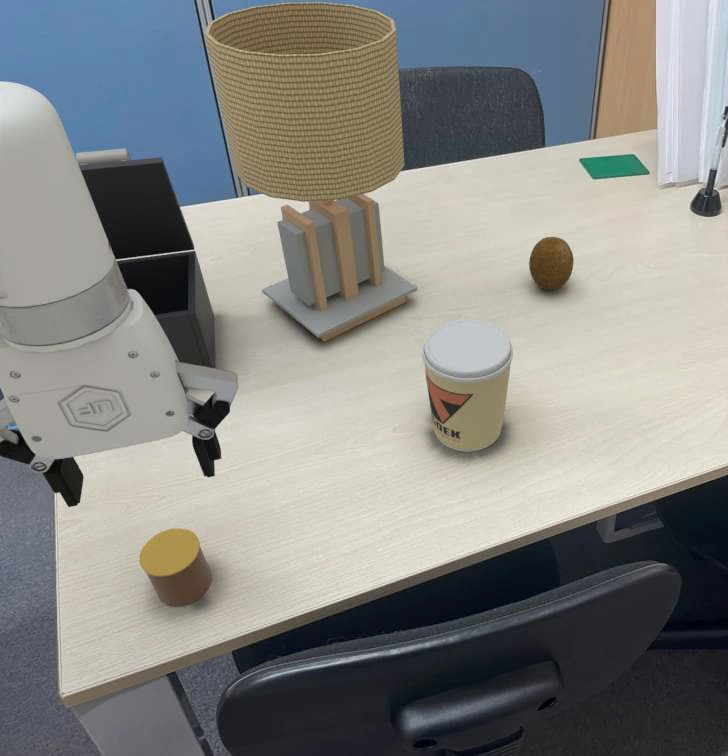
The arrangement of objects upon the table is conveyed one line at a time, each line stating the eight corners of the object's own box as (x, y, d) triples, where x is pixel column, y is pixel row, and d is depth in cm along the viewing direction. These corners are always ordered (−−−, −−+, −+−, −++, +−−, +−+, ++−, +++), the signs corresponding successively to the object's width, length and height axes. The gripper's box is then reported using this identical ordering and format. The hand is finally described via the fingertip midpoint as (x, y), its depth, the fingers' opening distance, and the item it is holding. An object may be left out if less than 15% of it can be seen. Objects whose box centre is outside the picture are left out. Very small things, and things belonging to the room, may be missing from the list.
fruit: (536, 271, 105) (540, 223, 100) (576, 281, 103) (582, 233, 98) (521, 293, 101) (524, 243, 96) (562, 304, 99) (567, 254, 94)
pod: (155, 613, 62) (137, 581, 59) (157, 568, 65) (140, 535, 62) (213, 599, 63) (199, 567, 60) (212, 555, 66) (199, 522, 63)
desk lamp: (358, 250, 108) (328, -7, 85) (442, 306, 98) (434, 31, 75) (241, 299, 97) (170, 21, 74) (321, 367, 87) (267, 70, 64)
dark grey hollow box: (216, 379, 85) (195, 312, 79) (101, 399, 82) (69, 331, 75) (213, 314, 95) (195, 250, 88) (110, 329, 91) (83, 264, 85)
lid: (162, 162, 75) (159, 130, 77) (29, 175, 72) (30, 141, 74) (194, 249, 88) (191, 220, 90) (82, 264, 85) (81, 233, 87)
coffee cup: (410, 420, 81) (404, 337, 73) (477, 388, 85) (478, 306, 77) (457, 470, 75) (455, 386, 67) (525, 434, 80) (532, 351, 72)
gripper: (-123, 360, 39) (12, 544, 51) (207, 308, 44) (263, 488, 55) (-86, 286, 44) (28, 467, 56) (205, 246, 49) (256, 422, 60)
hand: (144, 477), depth 55 cm, fingers open, 9 cm apart
